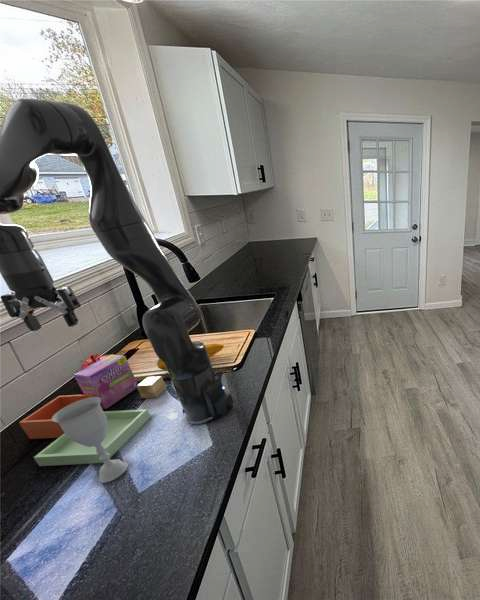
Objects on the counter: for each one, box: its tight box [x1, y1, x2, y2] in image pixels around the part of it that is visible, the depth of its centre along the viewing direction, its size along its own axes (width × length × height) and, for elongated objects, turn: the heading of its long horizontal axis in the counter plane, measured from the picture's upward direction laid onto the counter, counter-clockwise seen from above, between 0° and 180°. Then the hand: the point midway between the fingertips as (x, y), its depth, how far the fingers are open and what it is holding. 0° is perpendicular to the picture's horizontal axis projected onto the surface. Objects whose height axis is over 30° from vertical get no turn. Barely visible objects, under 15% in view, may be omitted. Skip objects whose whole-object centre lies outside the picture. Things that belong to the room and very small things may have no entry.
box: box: [72, 354, 139, 410], centre depth 93 cm, size 10×6×12 cm, turn 169°
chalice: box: [52, 397, 129, 484], centre depth 67 cm, size 7×7×18 cm
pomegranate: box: [78, 352, 110, 371], centre depth 104 cm, size 10×10×9 cm
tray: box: [33, 408, 152, 467], centre depth 79 cm, size 16×15×3 cm
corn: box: [156, 343, 225, 371], centre depth 109 cm, size 7×8×20 cm
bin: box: [18, 393, 104, 440], centre depth 84 cm, size 10×10×6 cm
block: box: [136, 375, 167, 399], centre depth 95 cm, size 4×4×4 cm
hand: (55, 327), depth 83 cm, fingers open, 8 cm apart
